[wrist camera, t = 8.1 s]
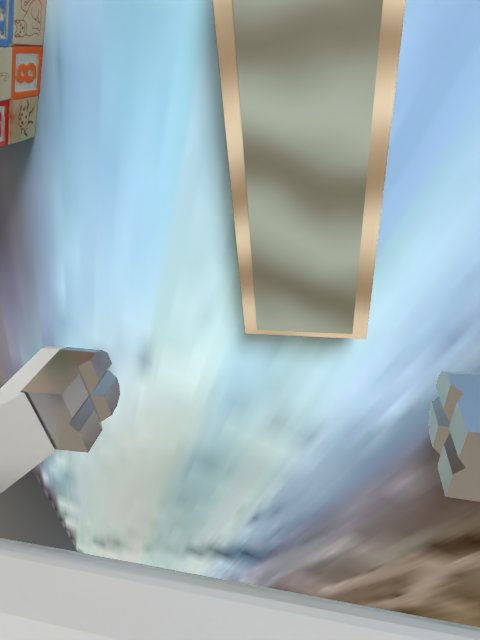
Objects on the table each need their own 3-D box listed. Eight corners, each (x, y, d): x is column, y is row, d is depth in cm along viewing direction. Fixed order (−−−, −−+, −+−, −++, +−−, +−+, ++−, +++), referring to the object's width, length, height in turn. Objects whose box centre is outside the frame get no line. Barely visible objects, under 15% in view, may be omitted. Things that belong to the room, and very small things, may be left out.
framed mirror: (224, -61, 20) (204, -82, 17) (405, -92, 19) (420, -123, 15) (253, 306, 33) (245, 334, 30) (362, 310, 31) (366, 339, 28)
